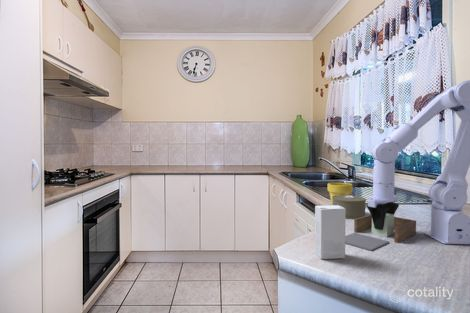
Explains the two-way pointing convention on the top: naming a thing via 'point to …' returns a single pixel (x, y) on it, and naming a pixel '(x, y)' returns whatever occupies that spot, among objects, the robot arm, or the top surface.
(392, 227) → the sage block
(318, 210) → the skincare box
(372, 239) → the charcoal mat
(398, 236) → the walnut u-shaped frame
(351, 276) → the top surface
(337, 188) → the plant pot
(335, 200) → the can
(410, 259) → the top surface
